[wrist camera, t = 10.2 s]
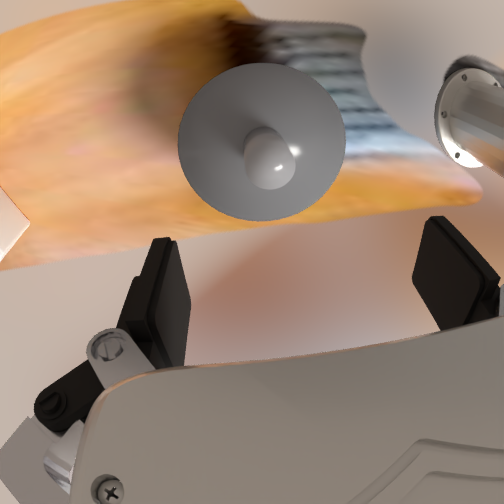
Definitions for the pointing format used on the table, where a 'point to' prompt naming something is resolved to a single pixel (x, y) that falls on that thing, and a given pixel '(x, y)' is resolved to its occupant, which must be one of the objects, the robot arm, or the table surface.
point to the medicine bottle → (10, 223)
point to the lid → (261, 142)
